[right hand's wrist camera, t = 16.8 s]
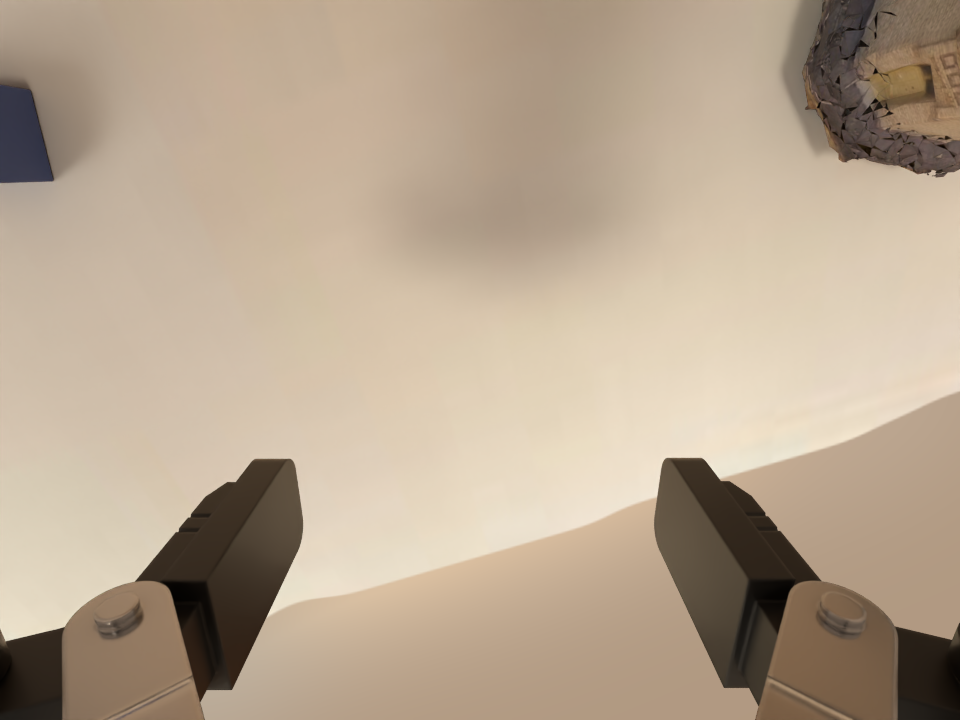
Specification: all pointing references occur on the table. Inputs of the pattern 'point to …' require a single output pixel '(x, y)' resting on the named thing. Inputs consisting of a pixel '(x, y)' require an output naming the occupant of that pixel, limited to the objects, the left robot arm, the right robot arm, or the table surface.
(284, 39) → the table surface
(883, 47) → the miniature building
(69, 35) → the table surface
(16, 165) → the block
